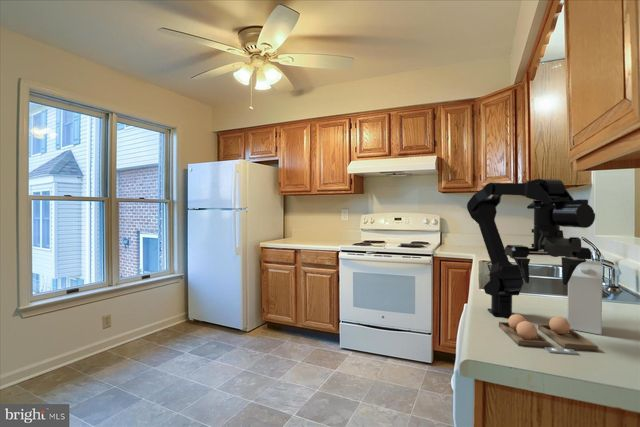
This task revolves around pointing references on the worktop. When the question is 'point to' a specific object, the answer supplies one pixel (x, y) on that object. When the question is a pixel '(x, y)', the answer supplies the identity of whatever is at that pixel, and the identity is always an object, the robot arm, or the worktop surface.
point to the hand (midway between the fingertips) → (545, 283)
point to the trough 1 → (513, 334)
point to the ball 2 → (526, 330)
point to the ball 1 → (515, 320)
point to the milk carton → (586, 297)
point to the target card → (561, 350)
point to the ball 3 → (559, 325)
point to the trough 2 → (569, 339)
